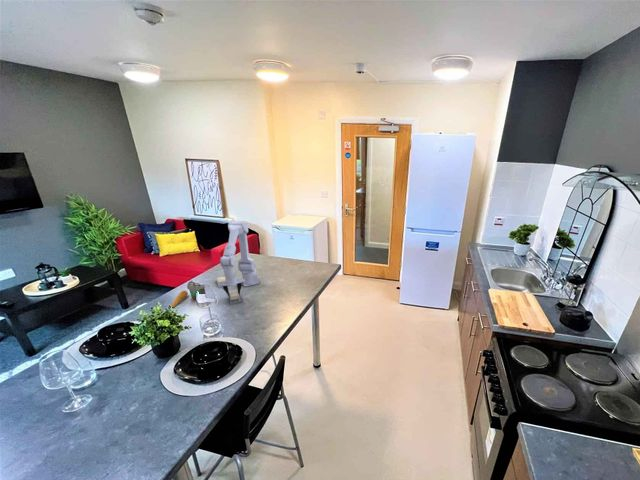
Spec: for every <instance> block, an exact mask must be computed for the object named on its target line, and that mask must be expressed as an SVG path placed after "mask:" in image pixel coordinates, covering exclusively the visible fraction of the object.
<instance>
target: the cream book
mask: <svg viewBox="0 0 640 480" xmlns="http://www.w3.org/2000/svg"><path fill="white" fill-rule="evenodd" d="M228 291H229V295H230V299H231V300H234V299H238V298H240V297H241V296H240V295H239V293H238V289H234V290H228ZM240 299H241V298H240Z"/></svg>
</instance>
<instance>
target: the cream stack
mask: <svg viewBox="0 0 640 480" xmlns="http://www.w3.org/2000/svg"><path fill="white" fill-rule="evenodd" d="M223 282H226V279H225V275H224V276H219V277H216V283H217V285H218V284H220V283H223Z"/></svg>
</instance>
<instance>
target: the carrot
mask: <svg viewBox="0 0 640 480" xmlns="http://www.w3.org/2000/svg"><path fill="white" fill-rule="evenodd" d="M188 295H189V293H188V291H186V290H181V291H180V292H179V293H178V295H177V296H176V298H175V299H174V300H173V302H172V303H171V305H170V306H172V307H173V308H175V307H176V306H177V305H178V304H179V303H181V302H182V301H183V300H184V299H185V298H186V297H188Z"/></svg>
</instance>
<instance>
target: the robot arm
mask: <svg viewBox="0 0 640 480" xmlns="http://www.w3.org/2000/svg"><path fill="white" fill-rule="evenodd" d="M227 228H228V231H229V237H228V243H227V244H226V245H225V247H224V251H223V255H222V256H221V257H220V259H219V265H220V266H221V268H222V270H223V273H224V276H225V279H226V282H223V283H220V284H218V283H217V286H218V289H221V288H222V289H223V290H224V292H225V293H226V294H227V297H228V298H229V297H230V295H229V291H230V290H229V286H230V287H234V286H236V287H237V288H236V290H237V291H238V293H239V296H241V289H242V287H249V286H255V285H259V283H260V281H259V275H258V271H257V270H256V263H255V259H254V258H251V256H250V252H249V244H248V236H247V234H248V233H249V225H248V223H247V222H246V221H245V220H242V221H241V220H229V222H228V223H227ZM237 240H238V244H239V245H238V246H239V252H240V258H239V259H238V260H237V270H238V271H239V272H240V273H241V275H242V279H237V276H236V270H235V264H236V256H235V255H236V250H237V246H236V243H237Z"/></svg>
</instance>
